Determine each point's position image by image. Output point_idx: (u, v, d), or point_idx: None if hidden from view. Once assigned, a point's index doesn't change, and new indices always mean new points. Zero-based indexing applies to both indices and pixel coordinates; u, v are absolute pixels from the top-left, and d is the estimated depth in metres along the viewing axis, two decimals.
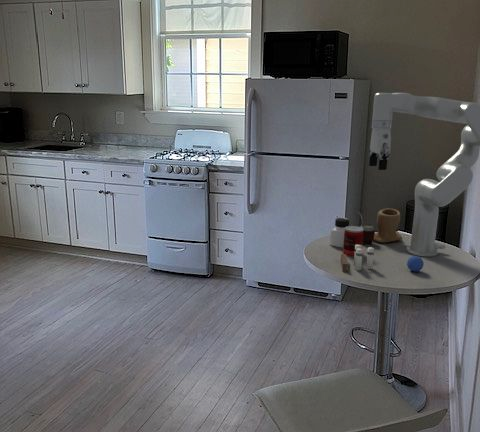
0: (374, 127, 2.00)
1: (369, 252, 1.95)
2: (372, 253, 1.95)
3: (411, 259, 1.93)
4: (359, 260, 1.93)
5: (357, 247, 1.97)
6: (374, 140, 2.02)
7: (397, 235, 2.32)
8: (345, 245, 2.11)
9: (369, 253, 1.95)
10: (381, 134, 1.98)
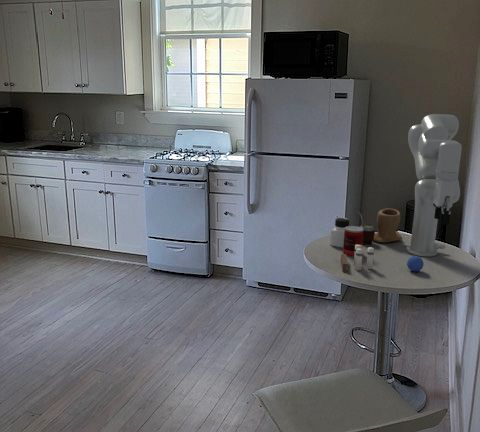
0: None
1: (369, 252, 1.95)
2: (372, 253, 1.95)
3: (411, 259, 1.93)
4: (359, 260, 1.93)
5: (357, 247, 1.97)
6: None
7: (397, 235, 2.32)
8: (345, 245, 2.11)
9: (369, 253, 1.95)
10: None
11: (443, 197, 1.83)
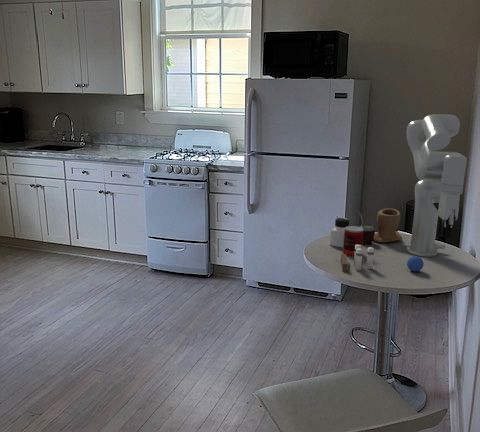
0: None
1: (369, 252, 1.95)
2: (372, 253, 1.95)
3: (411, 259, 1.93)
4: (359, 260, 1.93)
5: (357, 247, 1.97)
6: None
7: (397, 235, 2.32)
8: (345, 245, 2.11)
9: (369, 253, 1.95)
10: None
11: (448, 210, 1.83)
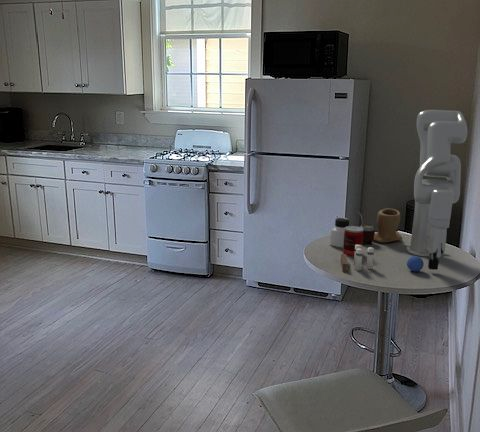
0: None
1: (369, 252, 1.95)
2: (372, 253, 1.95)
3: (411, 259, 1.93)
4: (359, 260, 1.93)
5: (357, 247, 1.97)
6: None
7: (397, 235, 2.32)
8: (345, 245, 2.11)
9: (369, 253, 1.95)
10: None
11: (436, 244, 1.87)
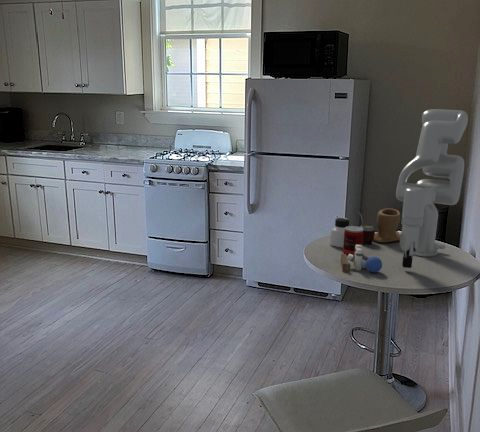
0: None
1: (350, 260, 1.96)
2: (353, 257, 1.96)
3: (379, 262, 1.90)
4: (359, 260, 1.93)
5: (357, 247, 1.97)
6: None
7: (397, 235, 2.32)
8: (345, 245, 2.11)
9: (352, 260, 1.96)
10: None
11: (408, 242, 1.88)
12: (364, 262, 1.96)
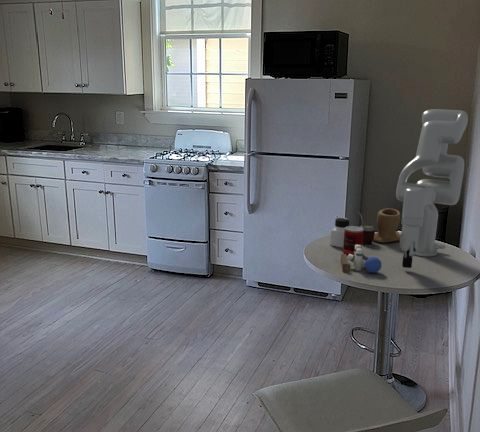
0: None
1: (350, 260, 1.96)
2: (353, 257, 1.96)
3: (378, 263, 1.89)
4: (359, 260, 1.93)
5: (357, 247, 1.97)
6: None
7: (397, 235, 2.32)
8: (345, 245, 2.11)
9: (352, 260, 1.96)
10: None
11: (408, 242, 1.88)
12: (364, 262, 1.96)
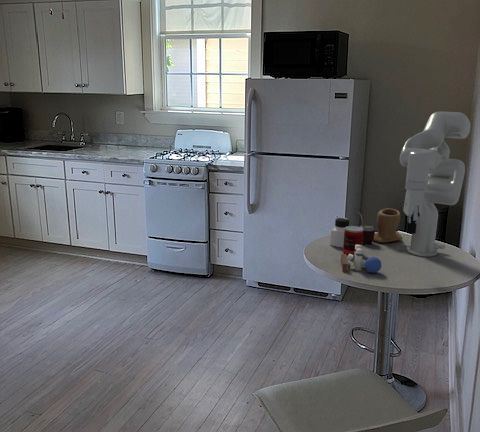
0: None
1: (350, 260, 1.96)
2: (353, 257, 1.96)
3: (378, 263, 1.89)
4: (359, 260, 1.93)
5: (357, 247, 1.97)
6: None
7: (397, 235, 2.32)
8: (345, 245, 2.11)
9: (352, 260, 1.96)
10: None
11: (412, 206, 1.85)
12: (364, 262, 1.96)
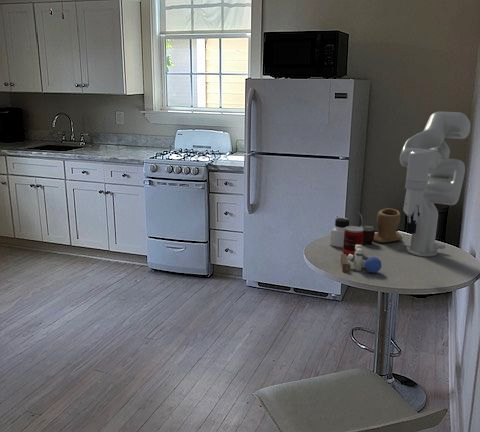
0: None
1: (350, 260, 1.96)
2: (353, 257, 1.96)
3: (378, 263, 1.89)
4: (359, 260, 1.93)
5: (357, 247, 1.97)
6: None
7: (397, 235, 2.32)
8: (345, 245, 2.11)
9: (352, 260, 1.96)
10: None
11: (412, 206, 1.85)
12: (364, 262, 1.96)
